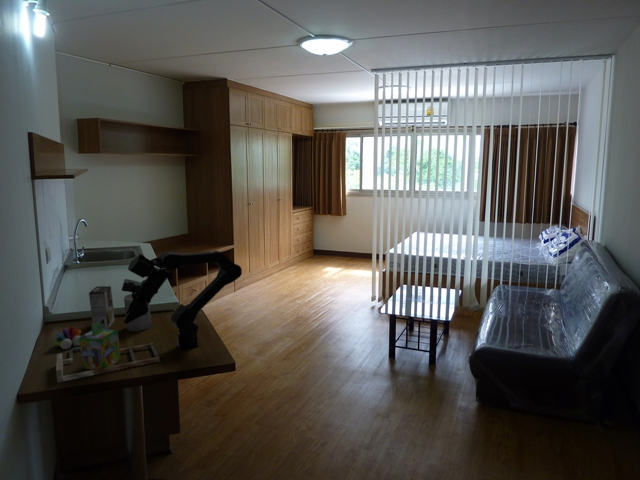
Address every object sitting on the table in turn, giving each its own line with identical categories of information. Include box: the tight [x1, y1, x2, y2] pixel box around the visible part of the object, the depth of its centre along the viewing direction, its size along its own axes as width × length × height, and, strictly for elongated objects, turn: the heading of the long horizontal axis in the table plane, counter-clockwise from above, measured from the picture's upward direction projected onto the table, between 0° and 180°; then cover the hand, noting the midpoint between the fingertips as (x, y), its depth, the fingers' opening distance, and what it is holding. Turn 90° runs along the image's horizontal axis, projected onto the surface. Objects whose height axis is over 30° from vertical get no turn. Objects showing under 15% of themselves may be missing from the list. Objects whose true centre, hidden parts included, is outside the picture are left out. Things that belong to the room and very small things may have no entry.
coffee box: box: [88, 285, 116, 329], centre depth 201 cm, size 9×6×16 cm
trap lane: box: [55, 342, 161, 383], centre depth 170 cm, size 32×25×4 cm
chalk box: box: [79, 322, 122, 371], centre depth 164 cm, size 9×9×15 cm
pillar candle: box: [123, 293, 152, 332], centre depth 199 cm, size 10×10×15 cm
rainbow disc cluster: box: [54, 326, 82, 350], centre depth 182 cm, size 8×10×7 cm
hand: (126, 318), depth 169 cm, fingers open, 9 cm apart
